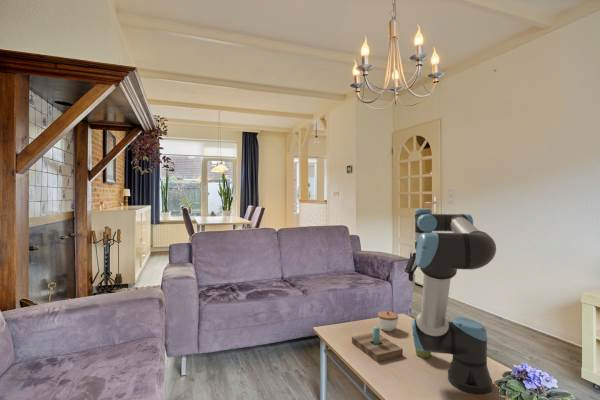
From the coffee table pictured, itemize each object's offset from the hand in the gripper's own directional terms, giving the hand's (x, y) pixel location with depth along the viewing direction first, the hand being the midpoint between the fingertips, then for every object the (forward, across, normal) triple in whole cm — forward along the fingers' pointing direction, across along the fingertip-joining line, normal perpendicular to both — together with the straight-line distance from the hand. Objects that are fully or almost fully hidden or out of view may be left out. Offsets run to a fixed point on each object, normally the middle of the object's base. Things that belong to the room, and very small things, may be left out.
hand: (423, 286), depth 154 cm
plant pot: (+29, +6, +6) cm, 30 cm away
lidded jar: (+29, +2, -24) cm, 38 cm away
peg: (+29, +22, -7) cm, 37 cm away
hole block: (+29, +22, -7) cm, 37 cm away
